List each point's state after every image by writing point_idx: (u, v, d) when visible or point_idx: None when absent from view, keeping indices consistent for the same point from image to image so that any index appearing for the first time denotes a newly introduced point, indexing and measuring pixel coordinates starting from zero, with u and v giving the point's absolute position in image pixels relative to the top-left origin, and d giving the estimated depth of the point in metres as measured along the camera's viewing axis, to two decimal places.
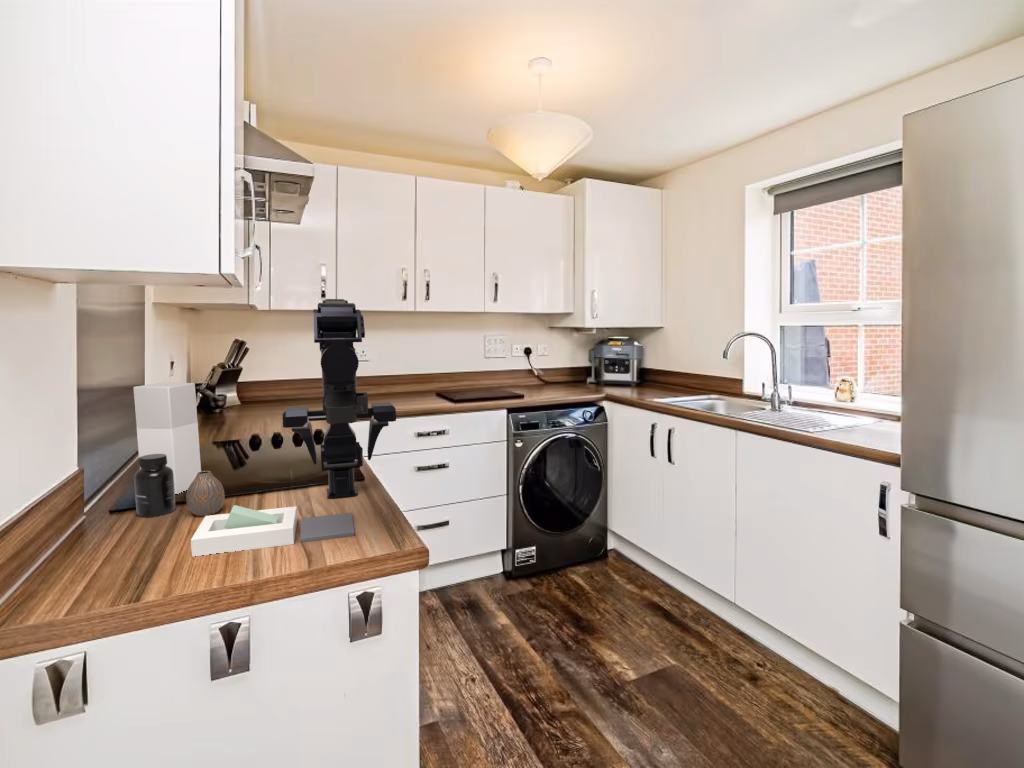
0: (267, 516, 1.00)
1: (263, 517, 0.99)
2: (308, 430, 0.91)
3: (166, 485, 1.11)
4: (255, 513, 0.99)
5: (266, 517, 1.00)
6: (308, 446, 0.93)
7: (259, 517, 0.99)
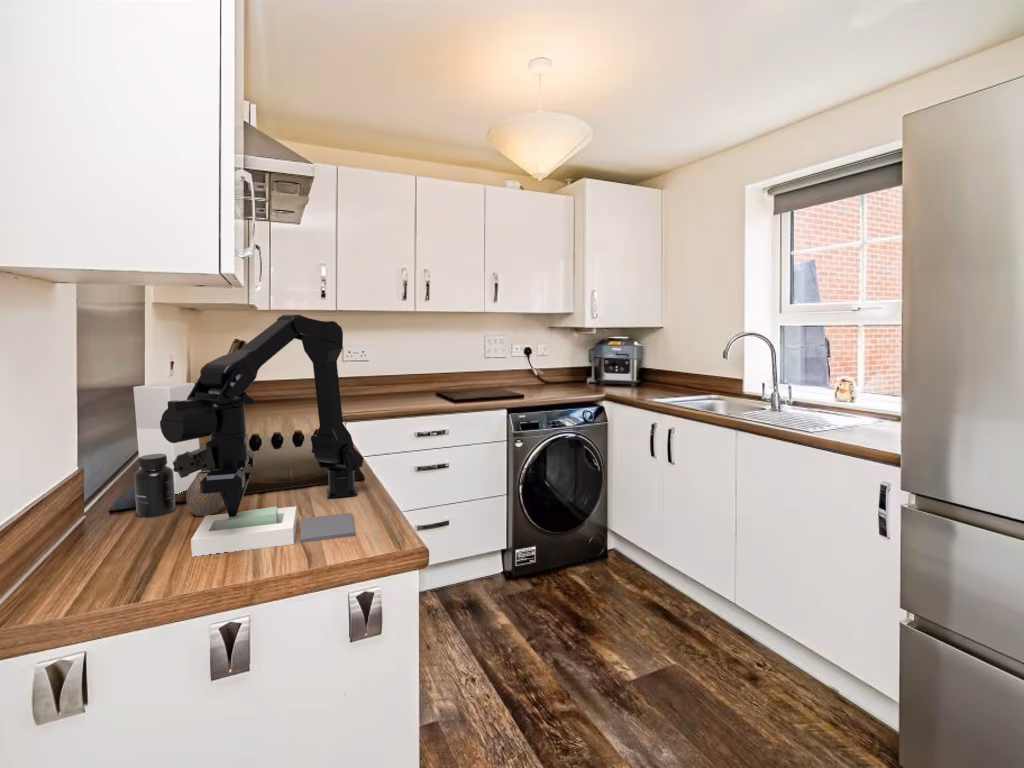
0: (266, 510, 1.00)
1: (262, 512, 0.99)
2: None
3: (166, 485, 1.11)
4: (253, 512, 0.99)
5: (265, 511, 1.00)
6: None
7: (257, 513, 0.98)
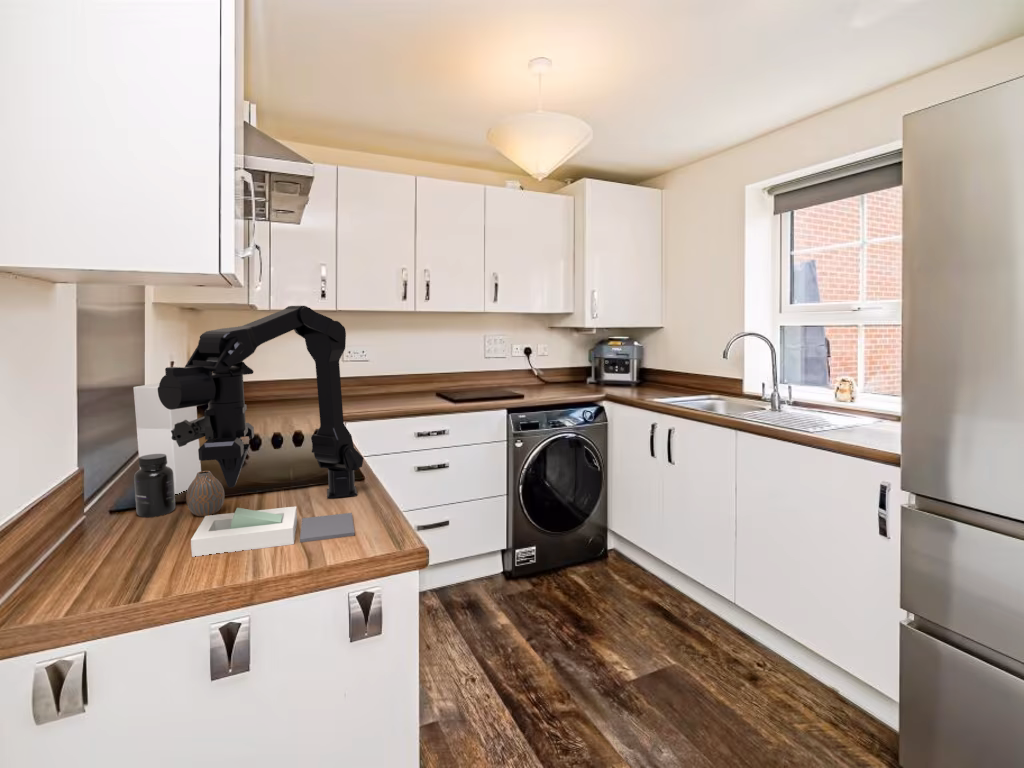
0: (271, 516, 1.00)
1: (267, 517, 0.99)
2: None
3: (166, 485, 1.11)
4: (259, 514, 1.00)
5: (270, 516, 1.00)
6: None
7: (263, 517, 0.99)
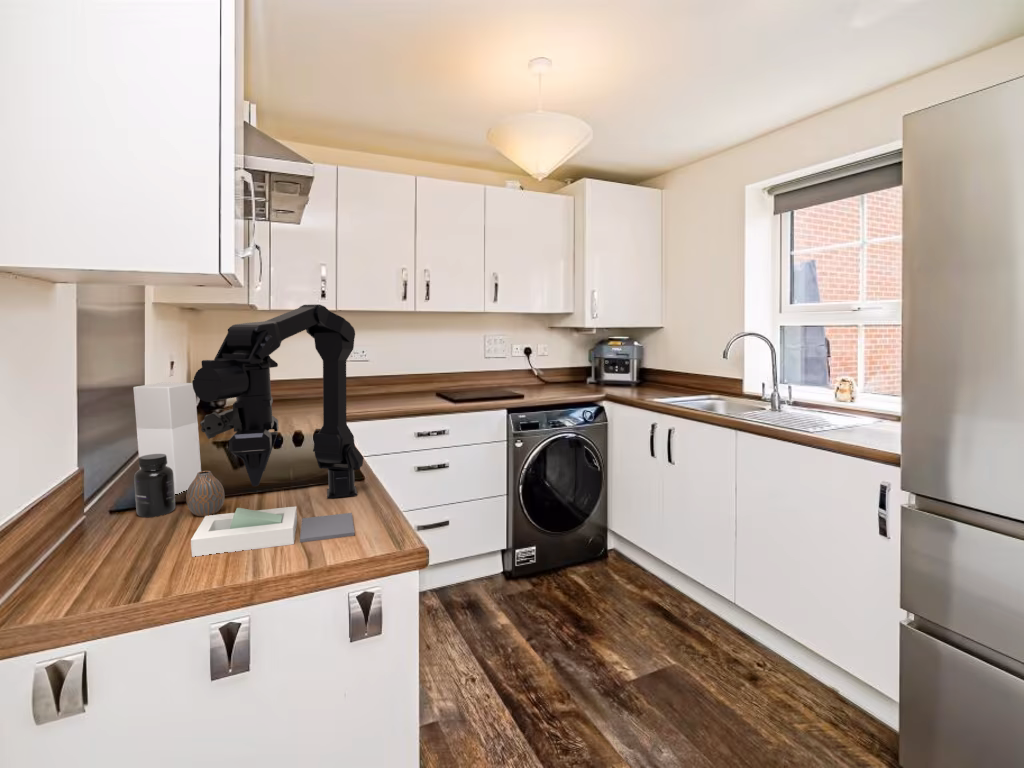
0: (271, 516, 1.00)
1: (267, 517, 0.99)
2: None
3: (166, 485, 1.11)
4: (259, 514, 1.00)
5: (270, 516, 1.00)
6: None
7: (263, 517, 0.99)
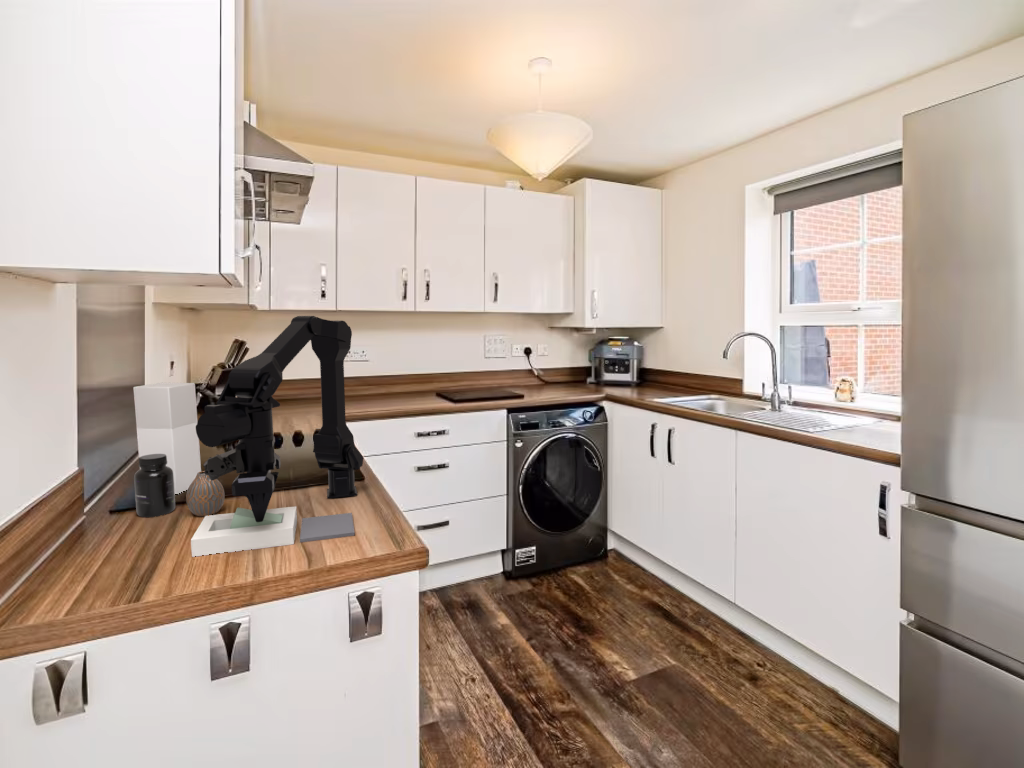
0: (271, 516, 1.00)
1: (267, 517, 0.99)
2: None
3: (166, 485, 1.11)
4: None
5: (271, 516, 1.00)
6: None
7: None
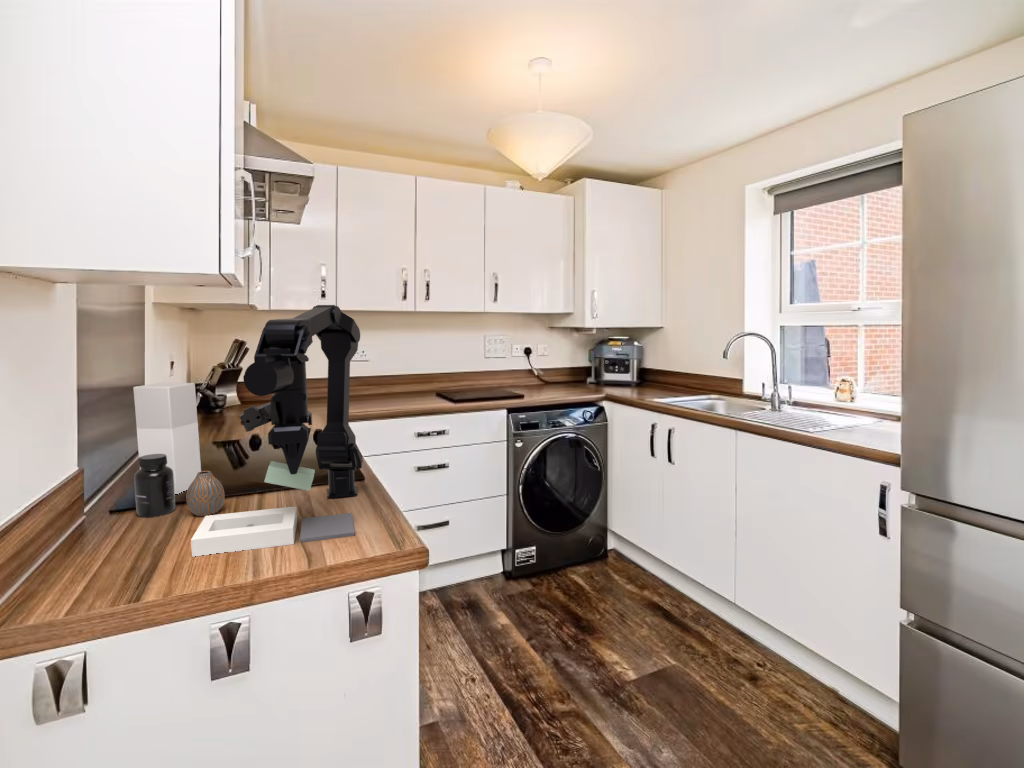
0: (304, 470, 1.01)
1: (301, 470, 1.00)
2: None
3: (166, 485, 1.11)
4: None
5: (304, 470, 1.01)
6: None
7: None
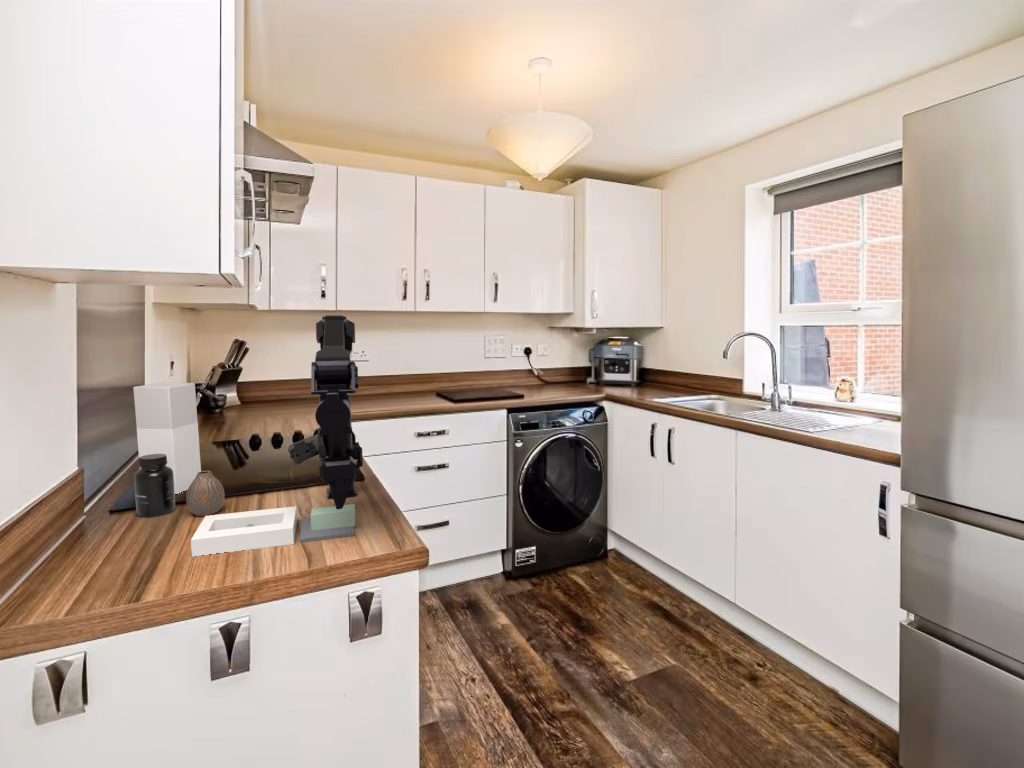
0: (345, 507, 1.05)
1: (341, 509, 1.04)
2: None
3: (166, 485, 1.11)
4: (333, 508, 1.04)
5: (344, 508, 1.04)
6: None
7: (338, 510, 1.03)
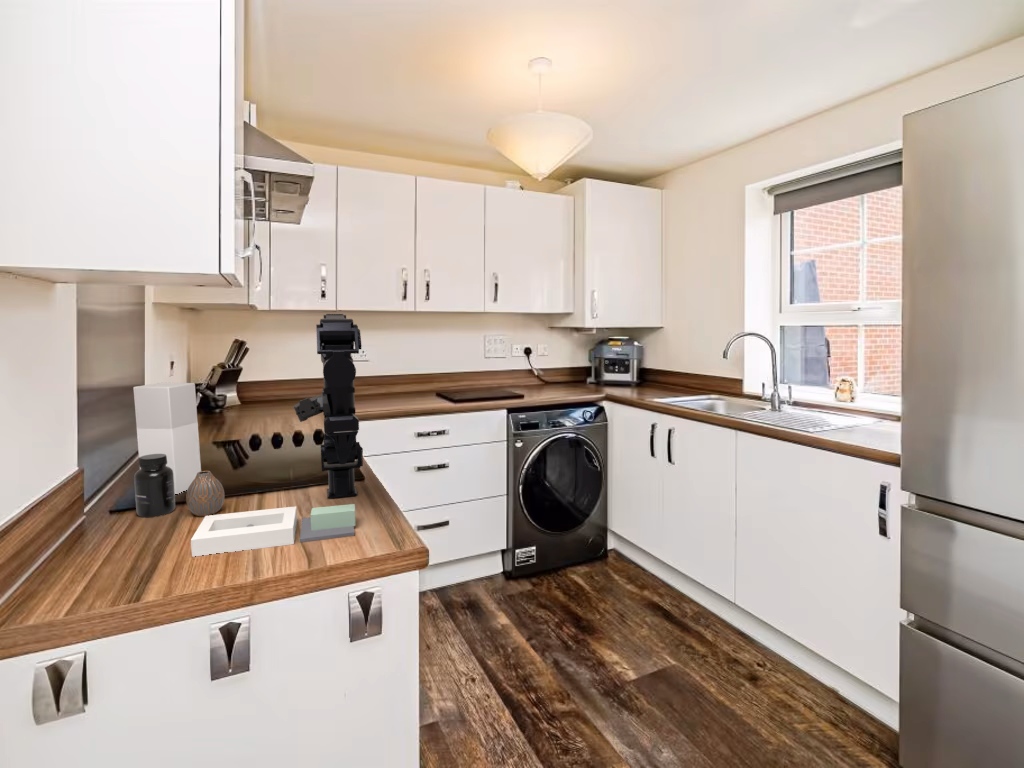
0: (345, 507, 1.05)
1: (341, 509, 1.04)
2: None
3: (166, 485, 1.11)
4: (333, 508, 1.04)
5: (344, 508, 1.04)
6: None
7: (338, 510, 1.03)
